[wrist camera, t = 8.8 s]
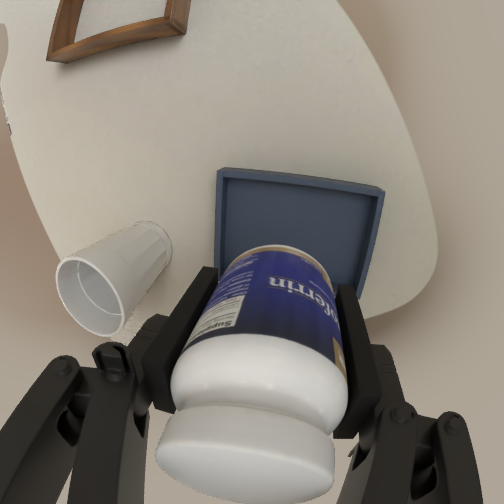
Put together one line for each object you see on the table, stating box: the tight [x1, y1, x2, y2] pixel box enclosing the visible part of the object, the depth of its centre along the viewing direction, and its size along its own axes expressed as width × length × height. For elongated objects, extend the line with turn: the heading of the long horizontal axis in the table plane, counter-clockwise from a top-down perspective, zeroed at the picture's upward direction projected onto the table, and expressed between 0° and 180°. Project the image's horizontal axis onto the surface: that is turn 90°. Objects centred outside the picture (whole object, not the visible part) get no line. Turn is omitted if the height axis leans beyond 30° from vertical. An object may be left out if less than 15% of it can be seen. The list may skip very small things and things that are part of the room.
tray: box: [214, 167, 385, 299], centre depth 27 cm, size 15×11×3 cm
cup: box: [56, 221, 172, 337], centre depth 26 cm, size 8×8×12 cm
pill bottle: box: [155, 245, 348, 504], centre depth 10 cm, size 6×6×10 cm
